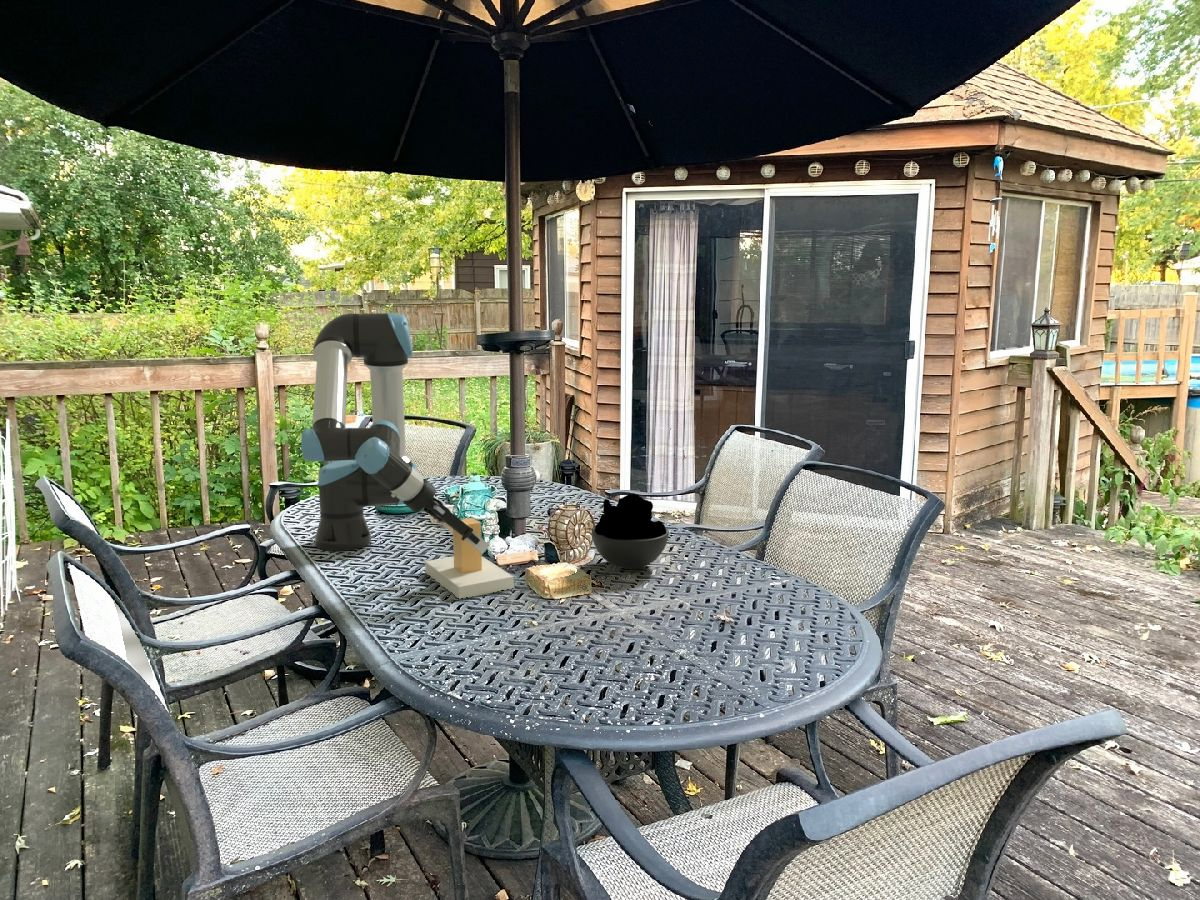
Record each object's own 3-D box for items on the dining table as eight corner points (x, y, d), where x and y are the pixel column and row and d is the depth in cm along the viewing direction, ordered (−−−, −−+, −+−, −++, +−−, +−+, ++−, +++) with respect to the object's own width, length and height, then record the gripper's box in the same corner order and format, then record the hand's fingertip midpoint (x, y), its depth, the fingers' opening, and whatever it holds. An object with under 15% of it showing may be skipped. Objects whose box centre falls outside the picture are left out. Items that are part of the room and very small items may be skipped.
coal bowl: (668, 556, 224) (670, 489, 220) (667, 581, 204) (669, 507, 201) (595, 554, 225) (595, 487, 222) (587, 578, 206) (587, 505, 202)
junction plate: (425, 572, 209) (424, 540, 208) (476, 563, 217) (475, 532, 215) (459, 599, 191) (458, 564, 189) (513, 588, 198) (513, 554, 197)
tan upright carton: (453, 567, 204) (452, 520, 202) (473, 564, 207) (472, 517, 205) (462, 573, 200) (460, 525, 198) (481, 569, 202) (480, 522, 200)
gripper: (385, 491, 202) (445, 541, 212) (421, 514, 181) (485, 568, 192) (405, 467, 204) (463, 518, 214) (443, 487, 183) (505, 542, 193)
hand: (474, 542), depth 203 cm, fingers open, 13 cm apart
